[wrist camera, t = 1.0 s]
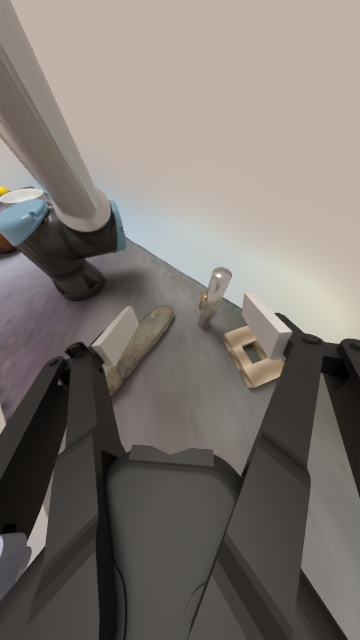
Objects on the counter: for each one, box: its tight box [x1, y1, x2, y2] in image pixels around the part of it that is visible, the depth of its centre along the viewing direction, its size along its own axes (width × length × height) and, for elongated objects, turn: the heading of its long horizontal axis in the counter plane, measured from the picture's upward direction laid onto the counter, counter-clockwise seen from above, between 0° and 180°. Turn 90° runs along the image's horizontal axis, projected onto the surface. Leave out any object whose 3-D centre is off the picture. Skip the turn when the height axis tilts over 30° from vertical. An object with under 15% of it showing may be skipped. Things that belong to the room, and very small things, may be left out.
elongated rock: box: [102, 306, 175, 397], centre depth 35 cm, size 35×5×10 cm
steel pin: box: [198, 267, 232, 329], centre depth 32 cm, size 4×4×20 cm
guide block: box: [221, 326, 284, 388], centre depth 34 cm, size 14×10×4 cm
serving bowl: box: [0, 189, 47, 208], centre depth 75 cm, size 21×21×7 cm
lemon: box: [0, 186, 9, 196], centre depth 84 cm, size 7×5×5 cm
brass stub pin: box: [199, 291, 207, 310], centre depth 41 cm, size 4×4×6 cm
